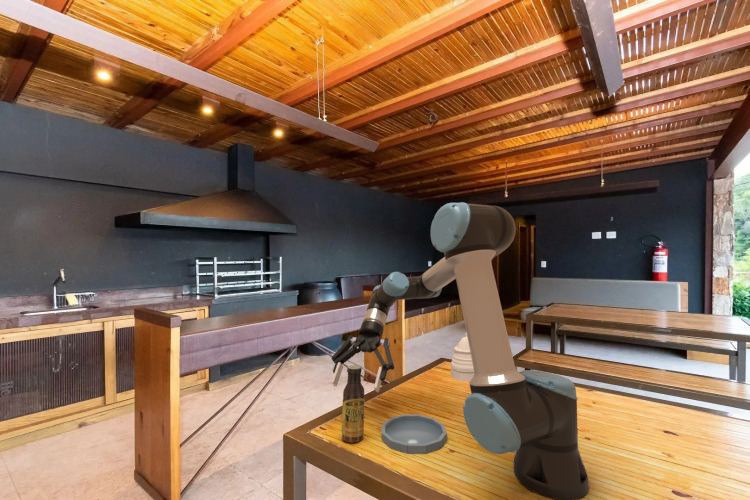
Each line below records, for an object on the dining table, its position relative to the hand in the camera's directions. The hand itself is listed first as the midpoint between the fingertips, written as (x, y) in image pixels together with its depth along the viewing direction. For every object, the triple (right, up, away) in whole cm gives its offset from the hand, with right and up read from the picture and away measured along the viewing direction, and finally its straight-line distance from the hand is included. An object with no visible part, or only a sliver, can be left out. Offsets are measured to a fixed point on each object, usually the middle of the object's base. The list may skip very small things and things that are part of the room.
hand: (354, 387), depth 100 cm
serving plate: (+17, -13, -3) cm, 21 cm away
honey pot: (+45, -14, +47) cm, 66 cm away
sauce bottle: (0, -13, -4) cm, 14 cm away
